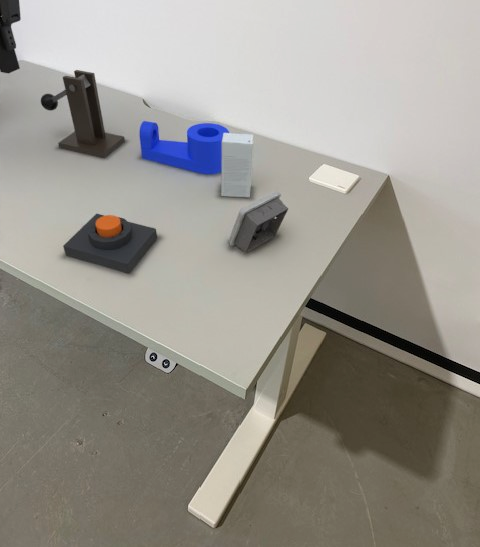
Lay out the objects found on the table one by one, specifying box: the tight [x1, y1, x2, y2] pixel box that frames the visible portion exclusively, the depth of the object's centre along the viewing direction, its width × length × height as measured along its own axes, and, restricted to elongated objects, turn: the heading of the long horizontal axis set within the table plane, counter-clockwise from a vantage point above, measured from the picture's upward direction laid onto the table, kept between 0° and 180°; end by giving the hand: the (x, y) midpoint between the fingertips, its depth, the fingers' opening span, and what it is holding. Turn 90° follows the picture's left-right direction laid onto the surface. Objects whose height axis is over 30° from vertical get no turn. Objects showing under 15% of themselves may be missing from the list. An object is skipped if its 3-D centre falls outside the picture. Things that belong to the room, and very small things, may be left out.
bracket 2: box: [138, 120, 230, 175], centre depth 94 cm, size 20×9×8 cm, turn 76°
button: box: [96, 214, 122, 237], centre depth 70 cm, size 4×4×2 cm
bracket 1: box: [57, 69, 126, 159], centre depth 94 cm, size 12×9×16 cm
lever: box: [40, 74, 91, 111], centre depth 93 cm, size 14×4×4 cm, turn 72°
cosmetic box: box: [220, 132, 254, 199], centre depth 84 cm, size 6×4×12 cm
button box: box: [62, 213, 158, 274], centre depth 72 cm, size 12×10×4 cm
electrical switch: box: [228, 190, 289, 254], centre depth 73 cm, size 9×5×9 cm, turn 133°
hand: (10, 70), depth 68 cm, fingers closed
